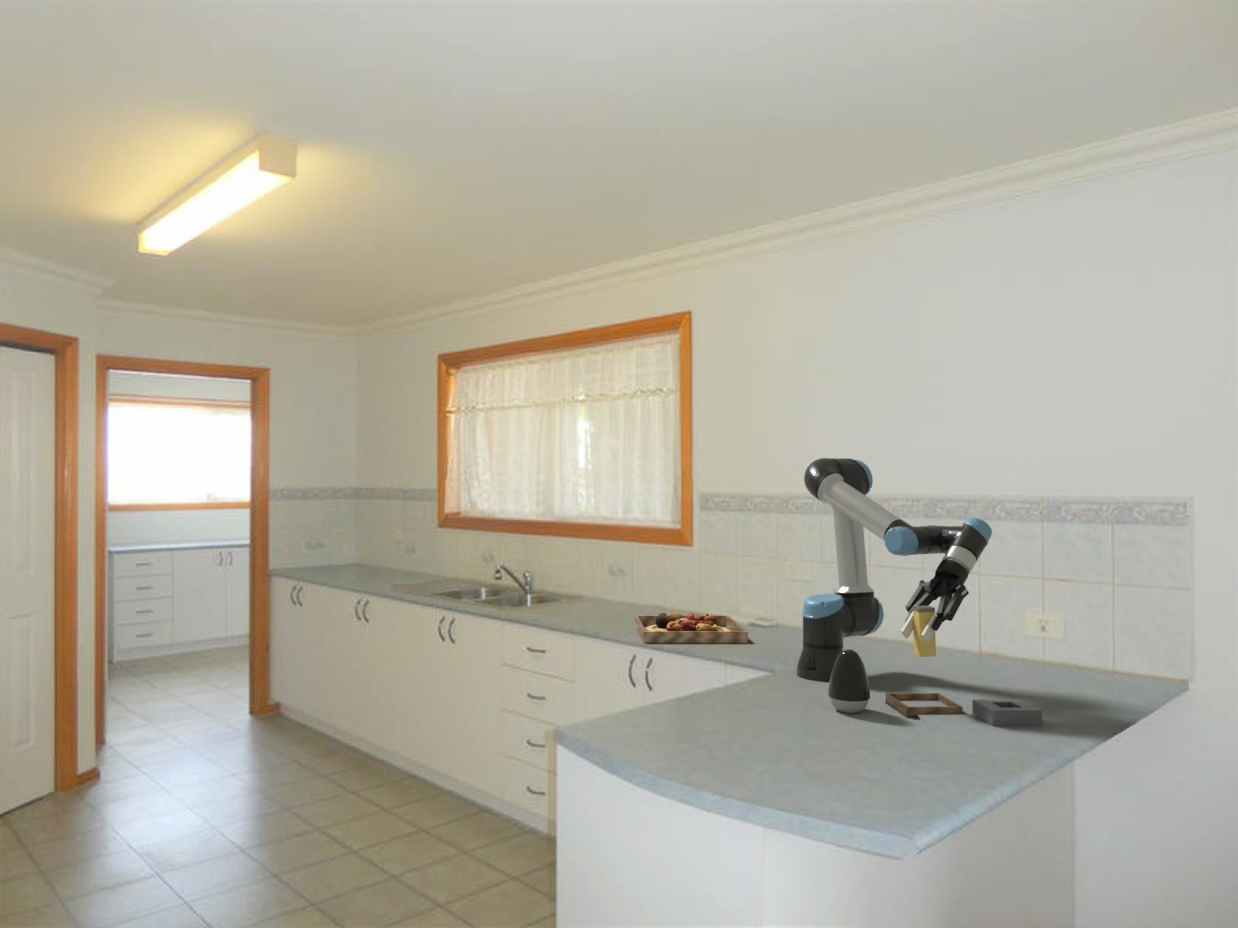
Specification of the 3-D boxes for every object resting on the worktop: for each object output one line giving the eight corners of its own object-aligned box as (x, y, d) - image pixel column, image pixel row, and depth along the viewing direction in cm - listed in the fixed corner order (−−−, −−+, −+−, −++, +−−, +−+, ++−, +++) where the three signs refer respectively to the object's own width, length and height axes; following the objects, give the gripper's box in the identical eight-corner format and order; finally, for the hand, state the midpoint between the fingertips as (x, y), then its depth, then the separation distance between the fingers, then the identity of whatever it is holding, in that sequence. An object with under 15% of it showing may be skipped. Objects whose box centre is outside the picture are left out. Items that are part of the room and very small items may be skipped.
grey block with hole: (992, 729, 204) (992, 710, 204) (972, 718, 214) (972, 699, 214) (1042, 729, 205) (1042, 710, 205) (1020, 717, 215) (1020, 699, 215)
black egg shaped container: (871, 707, 223) (871, 647, 224) (868, 717, 213) (869, 654, 214) (830, 703, 227) (830, 644, 227) (826, 713, 217) (826, 651, 217)
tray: (906, 717, 214) (906, 707, 214) (885, 702, 228) (885, 693, 228) (962, 717, 215) (962, 706, 215) (938, 702, 229) (938, 692, 229)
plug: (920, 656, 219) (918, 608, 219) (913, 653, 223) (912, 605, 224) (936, 656, 220) (934, 607, 220) (929, 652, 224) (927, 605, 224)
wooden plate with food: (719, 645, 306) (719, 621, 307) (633, 637, 318) (634, 614, 318) (739, 632, 336) (740, 611, 337) (660, 626, 348) (661, 605, 348)
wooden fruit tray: (643, 643, 308) (643, 631, 308) (634, 625, 345) (634, 615, 345) (747, 642, 310) (747, 631, 310) (728, 625, 347) (728, 615, 347)
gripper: (993, 580, 223) (953, 652, 213) (931, 574, 238) (891, 640, 229) (980, 560, 220) (939, 632, 210) (918, 555, 235) (877, 621, 226)
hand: (914, 636), depth 219 cm, fingers closed on plug, 5 cm apart
